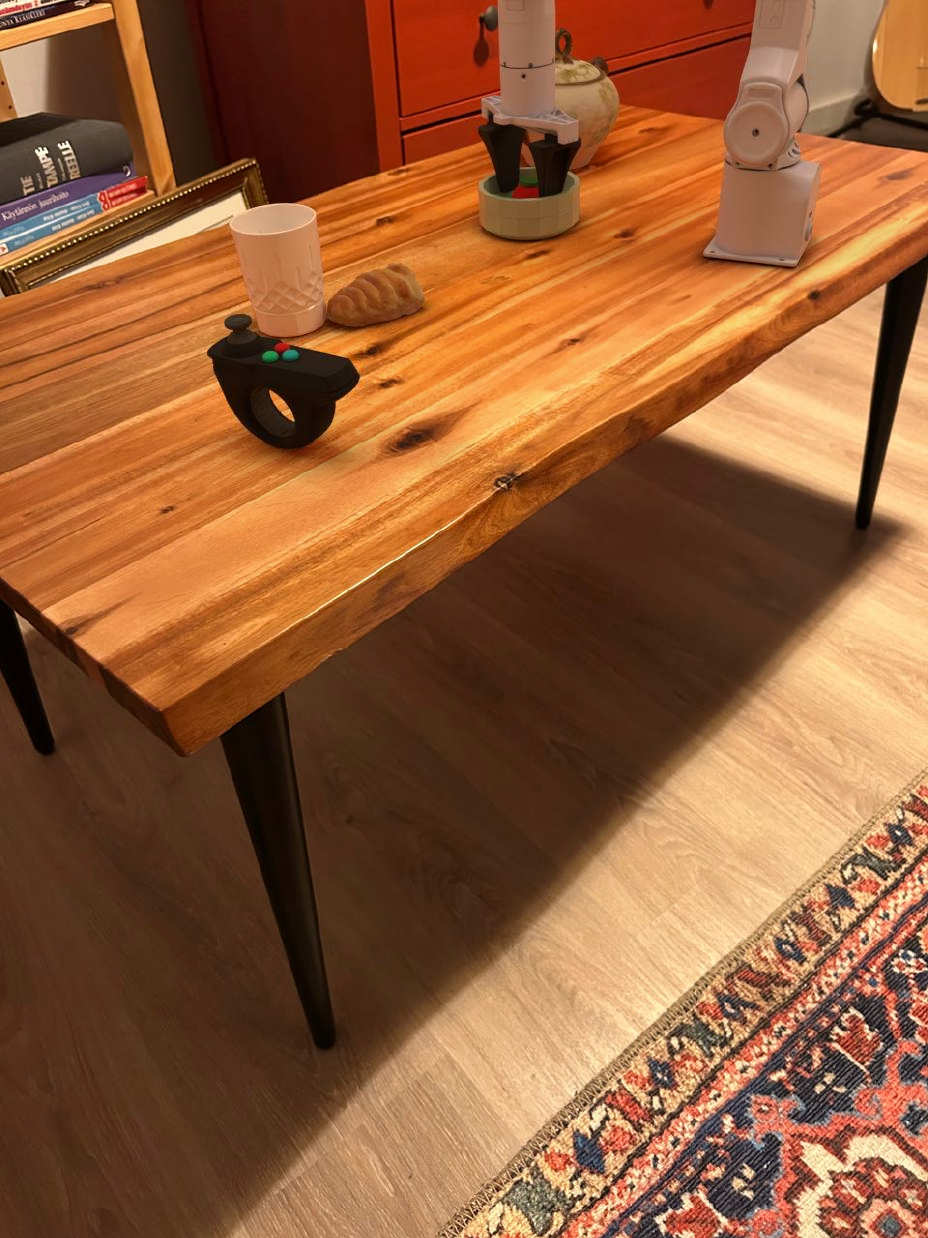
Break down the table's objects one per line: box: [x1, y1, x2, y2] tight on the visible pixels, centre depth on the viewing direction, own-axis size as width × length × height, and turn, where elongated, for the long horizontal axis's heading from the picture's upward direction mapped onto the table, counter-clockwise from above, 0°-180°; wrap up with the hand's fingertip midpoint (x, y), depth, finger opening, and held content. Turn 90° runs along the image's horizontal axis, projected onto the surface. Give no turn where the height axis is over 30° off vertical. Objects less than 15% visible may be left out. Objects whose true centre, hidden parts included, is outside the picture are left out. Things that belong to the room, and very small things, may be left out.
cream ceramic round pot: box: [521, 27, 621, 171], centre depth 122 cm, size 20×15×15 cm
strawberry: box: [512, 177, 539, 199], centre depth 109 cm, size 4×4×4 cm
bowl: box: [477, 166, 581, 241], centre depth 109 cm, size 11×11×4 cm
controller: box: [206, 313, 361, 451], centre depth 74 cm, size 4×12×10 cm, turn 61°
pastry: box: [326, 262, 425, 329], centre depth 94 cm, size 9×7×4 cm
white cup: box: [228, 202, 328, 338], centre depth 91 cm, size 8×8×10 cm
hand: (529, 198), depth 108 cm, fingers open, 7 cm apart
